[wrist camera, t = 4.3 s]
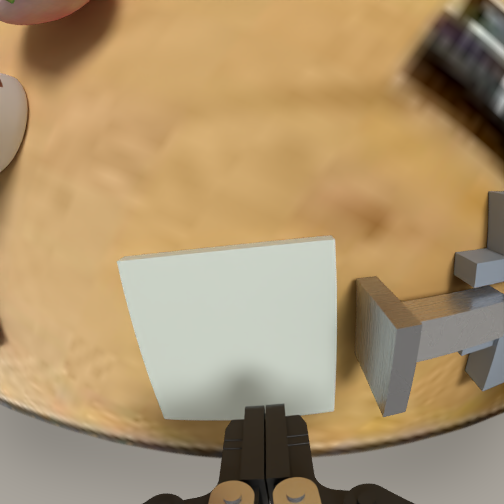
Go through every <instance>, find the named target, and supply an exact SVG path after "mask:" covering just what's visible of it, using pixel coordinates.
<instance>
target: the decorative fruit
mask: <svg viewBox="0 0 504 504" xmlns="http://www.w3.org/2000/svg"><path fill="white" fill-rule="evenodd" d="M89 1H90V0H0V21H2V22H5V23H9V24H15V25H33V24H40V23H46V22H51V21H55V20H58V19H61V18H64V17H66V16H68V15H70V14H72V13H74V12H75V11H77V10H78V9H80V8H81V7H83V6H84V5H85V4H86V3H88V2H89Z"/></svg>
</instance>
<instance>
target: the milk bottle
mask: <svg viewBox="0 0 504 504" xmlns="http://www.w3.org/2000/svg"><path fill="white" fill-rule="evenodd" d="M27 112H28V107H27V98H26V93H25V91H24V88H23V86H22V85H21V84H20V82H19V81H18V80H17V79H16V78H14V77H12V76H9V75H6V74H3V73H0V172H1V171H2V170H4V169H5V167H7V166H8V165H9V164H10V162H11V161H12V159H13V158H14V156H15V155H16V153H17V151H18V149H19V147H20V144H21V142H22V139H23V135H24V132H25V128H26V122H27Z"/></svg>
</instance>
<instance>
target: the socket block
mask: <svg viewBox="0 0 504 504" xmlns="http://www.w3.org/2000/svg"><path fill="white" fill-rule="evenodd" d="M454 275H455V276H457V277H458V278H460V279H461V280H463V281H464V282H466V283H467V284H469V285H470V286H472V287H474V288H477V287H481V286H486V285H490V284H495V283H499V282H503V281H504V191H489V220H488V241H487V248H484V249H477V250H470V251H463V252H456V253H455V266H454ZM457 352H458V353H459V354H460V355H461V356H462V355H465V354H469V353H470V354H469V358H468V361H467V365H466V369H465V371H466V372H467V374H468V375H469V376H470V377H471V378H472V380H473V381H474V382H475V383H476V384H477V385H478V387H479V388H480V389H481V390H482V391H485V390H487V389H490V388H492V387H494V386H497V385H499V384H501V383H503V382H504V335H503V337H501V338H498V339H495V340H492V341H489V342H486V343H483V344H480V345H477V346H474V347H470V348H467V349H464V350H461V351H457Z"/></svg>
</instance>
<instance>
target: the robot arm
mask: <svg viewBox="0 0 504 504" xmlns="http://www.w3.org/2000/svg"><path fill="white" fill-rule="evenodd" d="M270 503H271V504H414V503H412V502H410V501H407V500H406V499H403V498H402V497H400V496H398V495H396V494H394V493H392V492H390V491H388V490H386V489H384V488H383V487H381V486H378V485H375V484H362V485H358V486H356V487H354V488H352V489H351V490H350V491H343V490H334V489H329V488H326V487H324V486H322V485H321V484H320V483H319V482H318V481H317V480H316V478H315V476H314V470H313V464H312V457H311V450H310V444H309V438H308V431H307V425H306V422H305V421H304V420H303V419H302V417H301V416H300V415H291V416H285V405H284V403H282V404H271V405H266V413H265V406H264V405H259V406H245V413H244V419H237V420H232V421H231V422H230V424H229V425H228V427H227V428H226V431H225V438H224V446H223V454H222V461H221V469H220V477H219V482H218V485H217V486H216V487H215V488H214V489H213V490H212V491H211V492H210V493H209V494H207V495H204V496H202V497H197V498H192V499H187V500H182V499H181V498H180V497H178V496H176V495H173V494H159V495H156V496H154V497H153V498H151V499H149V500H148V501H147V502H145V503H143V504H270Z"/></svg>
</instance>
